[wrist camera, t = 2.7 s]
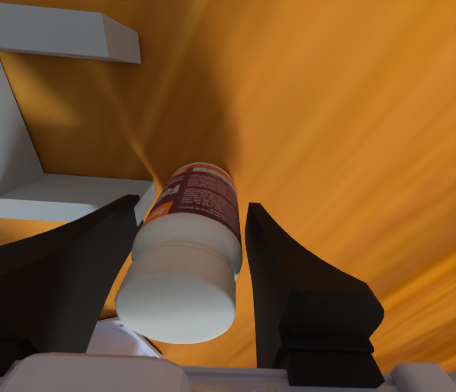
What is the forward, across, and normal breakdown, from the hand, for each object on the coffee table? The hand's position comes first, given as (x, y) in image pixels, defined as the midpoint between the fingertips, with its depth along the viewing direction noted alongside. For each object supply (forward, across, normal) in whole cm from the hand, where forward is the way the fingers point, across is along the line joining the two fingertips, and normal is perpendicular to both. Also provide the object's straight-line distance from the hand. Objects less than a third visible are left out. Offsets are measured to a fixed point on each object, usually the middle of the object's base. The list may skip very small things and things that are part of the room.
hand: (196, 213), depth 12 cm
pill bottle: (+3, 0, 0) cm, 3 cm away
